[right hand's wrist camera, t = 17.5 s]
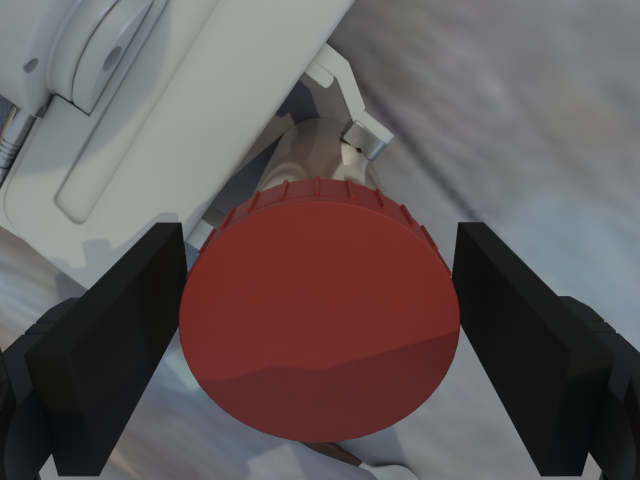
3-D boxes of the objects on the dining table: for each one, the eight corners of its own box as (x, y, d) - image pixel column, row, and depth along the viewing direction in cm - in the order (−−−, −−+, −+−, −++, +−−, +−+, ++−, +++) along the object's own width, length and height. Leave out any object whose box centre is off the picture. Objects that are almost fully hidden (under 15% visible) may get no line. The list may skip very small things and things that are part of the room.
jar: (335, 227, 28) (355, 441, 12) (255, 182, 27) (165, 354, 11) (385, 149, 26) (483, 285, 11) (302, 98, 25) (272, 163, 10)
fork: (265, 395, 33) (262, 416, 31) (440, 483, 36) (446, 506, 34) (247, 419, 34) (243, 440, 32) (420, 503, 37) (425, 527, 35)
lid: (429, 151, 11) (451, 169, 9) (452, 374, 13) (473, 424, 11) (163, 201, 11) (134, 228, 9) (232, 408, 14) (219, 461, 12)
